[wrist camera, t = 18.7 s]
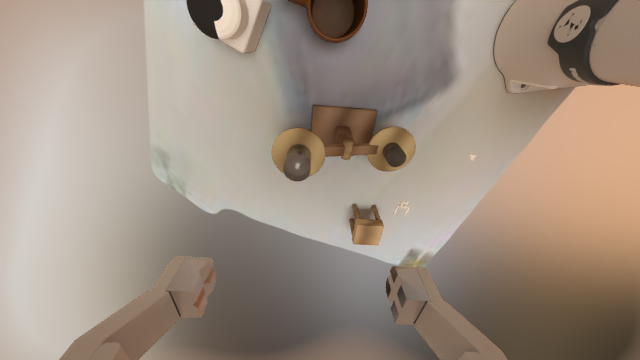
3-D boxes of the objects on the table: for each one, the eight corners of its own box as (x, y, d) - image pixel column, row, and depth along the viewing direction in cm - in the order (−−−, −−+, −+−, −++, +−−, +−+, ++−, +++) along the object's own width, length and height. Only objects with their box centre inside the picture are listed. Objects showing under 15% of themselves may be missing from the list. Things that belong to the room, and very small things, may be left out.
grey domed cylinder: (311, 144, 33) (311, 158, 30) (310, 166, 35) (309, 182, 32) (287, 143, 33) (283, 156, 29) (286, 164, 35) (283, 180, 31)
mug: (276, 23, 36) (264, 19, 28) (286, -39, 32) (276, -64, 24) (347, 48, 38) (355, 51, 30) (364, -8, 34) (379, -22, 26)
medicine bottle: (212, 26, 36) (171, 22, 26) (226, -25, 33) (186, -54, 23) (255, 52, 38) (232, 56, 28) (272, 5, 35) (253, -8, 25)
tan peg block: (376, 204, 56) (383, 226, 49) (371, 222, 59) (378, 245, 52) (352, 203, 55) (357, 225, 49) (349, 221, 58) (353, 244, 52)
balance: (405, 112, 44) (434, 136, 33) (393, 154, 48) (415, 187, 38) (282, 101, 43) (270, 123, 32) (282, 146, 47) (272, 178, 36)
